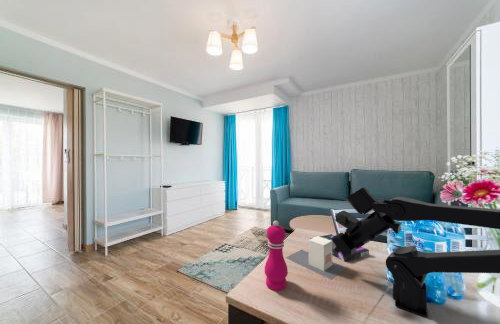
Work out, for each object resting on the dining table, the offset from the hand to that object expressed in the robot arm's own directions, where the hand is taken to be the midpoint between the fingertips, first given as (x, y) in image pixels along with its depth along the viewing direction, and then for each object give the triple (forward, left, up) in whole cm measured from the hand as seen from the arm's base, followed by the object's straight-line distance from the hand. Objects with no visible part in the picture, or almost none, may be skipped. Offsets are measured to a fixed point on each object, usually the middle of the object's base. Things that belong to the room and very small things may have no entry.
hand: (335, 250), depth 67 cm
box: (+4, -20, -8) cm, 22 cm away
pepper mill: (+13, +18, -8) cm, 24 cm away
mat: (+8, -2, -8) cm, 11 cm away
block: (+6, -1, -7) cm, 9 cm away
